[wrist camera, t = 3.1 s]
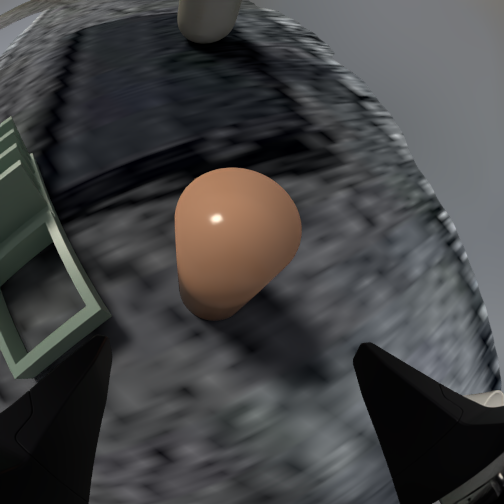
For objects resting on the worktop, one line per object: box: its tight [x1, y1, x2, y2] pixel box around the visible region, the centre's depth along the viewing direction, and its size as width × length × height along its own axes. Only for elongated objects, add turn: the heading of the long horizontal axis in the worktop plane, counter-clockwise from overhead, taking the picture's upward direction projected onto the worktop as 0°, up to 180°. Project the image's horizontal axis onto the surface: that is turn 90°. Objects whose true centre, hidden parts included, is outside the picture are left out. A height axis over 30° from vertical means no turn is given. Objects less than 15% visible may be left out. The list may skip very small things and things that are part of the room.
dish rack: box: [0, 117, 112, 379], centre depth 15 cm, size 10×20×8 cm, turn 42°
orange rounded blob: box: [175, 168, 302, 321], centre depth 16 cm, size 6×6×11 cm
